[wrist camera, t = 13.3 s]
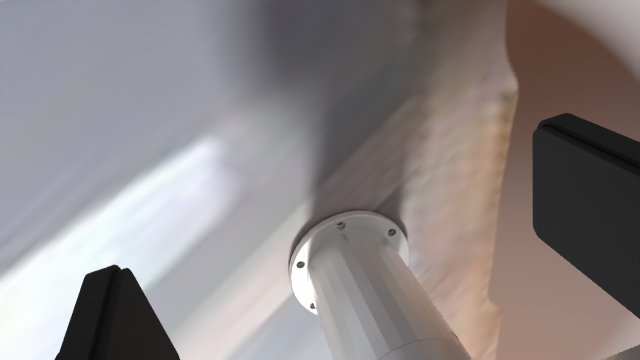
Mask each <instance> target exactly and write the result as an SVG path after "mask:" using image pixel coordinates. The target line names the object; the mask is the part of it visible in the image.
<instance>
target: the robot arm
mask: <svg viewBox="0 0 640 360" xmlns="http://www.w3.org/2000/svg"><path fill="white" fill-rule="evenodd" d="M533 227H534V230H535V232H536V234H537V236H538V237H539V238H540V239H541V240H542V241H544V242H545V243H546V244H547V245H549V246H550V247H551V248H552V249H554V250H555V251H556V252H557V253H558V254H560V255H561V256H562V257H564V258H565V259H566V260H567V261H569V262H570V263H571V264H572V265H573V266H575V267H576V268H577V269H578V270H580V271H581V272H582V273H583V274H585V275H586V276H587V277H588V278H590V279H591V280H592V281H593V282H595V283H596V284H597V285H598V286H600V287H601V288H602V289H603V290H604V291H606V292H607V293H608V294H609V295H611V296H612V297H613V298H614V299H616V300H617V301H618V302H619V303H621V304H622V305H623V306H625V307H626V308H627V309H628V310H629V311H631V312H632V313H633V314H634V315H635V316H637V317H638V318H639V319H640V142H638V141H635V140H633V139H631V138H628V137H626V136H623V135H621V134H618V133H616V132H614V131H611V130H609V129H606V128H604V127H601V126H599V125H597V124H594V123H592V122H589V121H587V120H584V119H582V118H579V117H577V116H575V115H572V114H569V113H564V114H561V115H557V116H555V117H552V118H549V119H546V120H543V121H541V122H540V123H539V125H538V128H537V129H536V130H535V131H534V133H533ZM409 262H410V248H409V245H408V241H407V239H406V237H405V235H404V234H403V232H402V231H401V229H400V228H399V227H398V226H397V225H396V224H395V223H394V222H393V221H392V220H390V219H389V218H387V217H385V216H383V215H381V214H379V213H375V212H371V211H358V210H357V211H349V212H344V213H340V214H337V215H334V216H332V217H330V218H328V219H326V220H323V221H322V222H320V223H319V224H317V225H316V226H315V227H313V228H312V229H311V230H310V231H309V232H308V233H307V234H306V235H305V236H304V237H303V238H302V239H301V241H300V242H299V244H298V245H297V246H296V248H295V251H294V253H293V255H292V257H291V261H290V265H289V279H290V283H291V287H292V290H293V293H294V295H295V297H296V298H297V300H298V301H299V303H300V304H301V305H302V306H304V307H305V308H306V309H307V310H309V311H311V312H312V313H314V314H317V315H318V317H319V320H320V323H321V325H322V328H323V331H324V334H325V337H326V339H327V342H328V345H329V348H330V351H331V354H332V356H333V359H334V360H473V359H472V358H471V356H470V355H469V353H468V352H467V351H466V349H465V348H464V346H463V345H462V343H461V342H460V341H459V339H458V338H457V336H456V335H455V333H454V332H453V330H452V329H451V328H450V326H449V325H448V323H447V322H446V321H445V319H444V318H443V316H442V315H441V313H440V312H439V311H438V309H437V308H436V306H435V305H434V303H433V302H432V301H431V299H430V298H429V296H428V295H427V294H426V292H425V291H424V289H423V288H422V286H421V285H420V284H419V282H418V281H417V279H416V278H415V276H414V275H413V274H412V272H411V271H410V269H409ZM55 360H180V358H179V355H178V353H177V351H176V350H175V348H174V346H173V344H172V342H171V341H170V339H169V337H168V335H167V334H166V332H165V330H164V328H163V326H162V325H161V323H160V321H159V319H158V318H157V316H156V314H155V312H154V310H153V309H152V307H151V305H150V303H149V302H148V300H147V298H146V296H145V294H144V293H143V291H142V289H141V287H140V285H139V284H138V282H137V280H136V278H135V277H134V275H133V273H132V272H131V270H130V269H129V268H125V269H122V270H121V268H120V267H119V266H117V265H112V266H109V267H106V268H103V269H100V270H97V271H94V272H91V273H88V274H86V276H85V278H84V280H83V283H82V286H81V289H80V292H79V295H78V298H77V301H76V304H75V307H74V310H73V313H72V316H71V319H70V322H69V325H68V328H67V331H66V334H65V337H64V340H63V343H62V346H61V349H60V352H59V353H58V354H57V356H56V358H55ZM603 360H640V345H638V346H635V347H633V348H630V349H628V350H625V351H623V352H620V353H618V354H615V355H613V356H610V357H608V358H605V359H603Z"/></svg>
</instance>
